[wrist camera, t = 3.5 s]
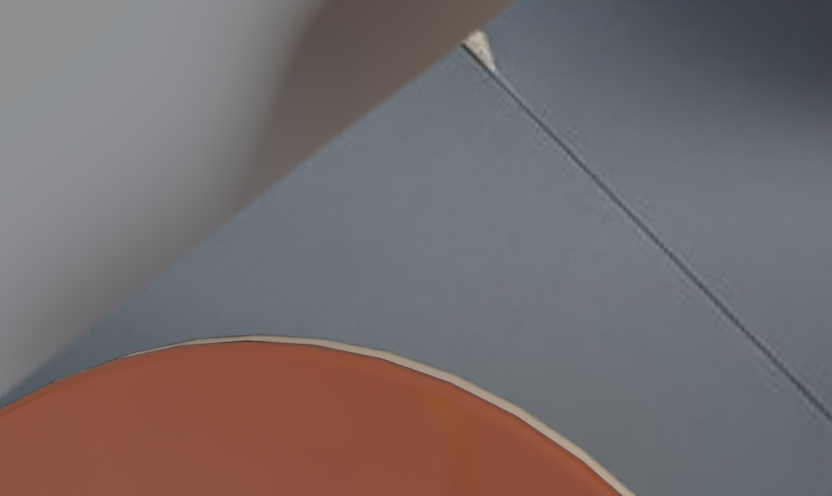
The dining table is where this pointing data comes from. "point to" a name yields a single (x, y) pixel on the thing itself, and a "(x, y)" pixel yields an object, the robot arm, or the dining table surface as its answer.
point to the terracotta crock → (282, 428)
